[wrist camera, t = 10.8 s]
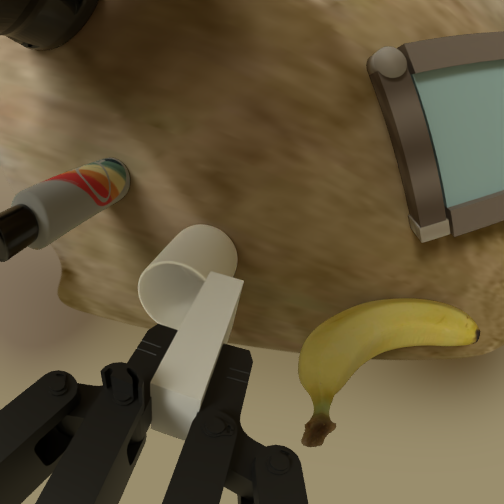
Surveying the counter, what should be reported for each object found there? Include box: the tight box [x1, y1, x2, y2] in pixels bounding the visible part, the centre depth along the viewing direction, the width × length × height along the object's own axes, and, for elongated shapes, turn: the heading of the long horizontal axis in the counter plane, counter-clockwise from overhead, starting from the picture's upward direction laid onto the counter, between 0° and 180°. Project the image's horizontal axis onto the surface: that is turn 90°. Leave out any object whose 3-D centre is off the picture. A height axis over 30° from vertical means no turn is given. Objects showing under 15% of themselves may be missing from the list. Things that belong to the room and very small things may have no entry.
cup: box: [138, 224, 238, 330], centre depth 35 cm, size 8×12×10 cm
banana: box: [298, 298, 480, 447], centre depth 29 cm, size 23×6×20 cm, turn 93°
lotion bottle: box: [0, 158, 130, 262], centre depth 28 cm, size 6×6×20 cm
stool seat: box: [397, 32, 504, 237], centre depth 25 cm, size 20×16×4 cm
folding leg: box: [366, 47, 450, 243], centre depth 27 cm, size 19×3×4 cm, turn 22°
